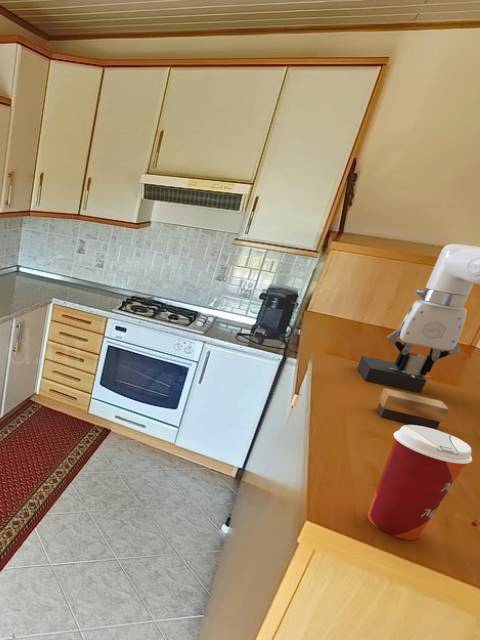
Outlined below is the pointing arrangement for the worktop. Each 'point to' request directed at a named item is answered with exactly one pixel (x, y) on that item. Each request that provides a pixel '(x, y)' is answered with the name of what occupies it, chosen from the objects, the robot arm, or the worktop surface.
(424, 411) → the brush
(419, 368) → the stove knob
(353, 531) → the worktop surface
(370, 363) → the stove
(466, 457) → the paper cup
